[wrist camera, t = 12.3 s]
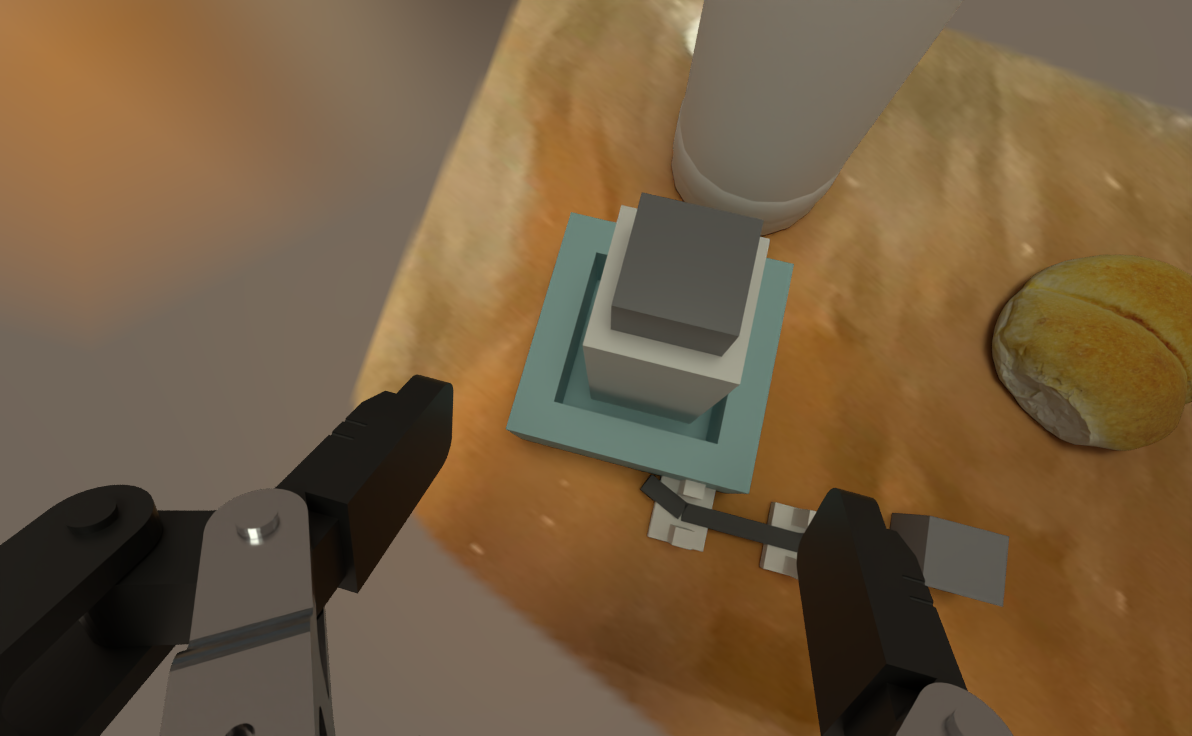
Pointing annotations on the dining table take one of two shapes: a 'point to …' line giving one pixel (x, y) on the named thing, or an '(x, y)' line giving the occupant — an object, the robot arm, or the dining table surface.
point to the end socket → (624, 436)
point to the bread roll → (1100, 349)
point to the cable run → (686, 514)
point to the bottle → (790, 96)
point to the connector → (674, 308)
